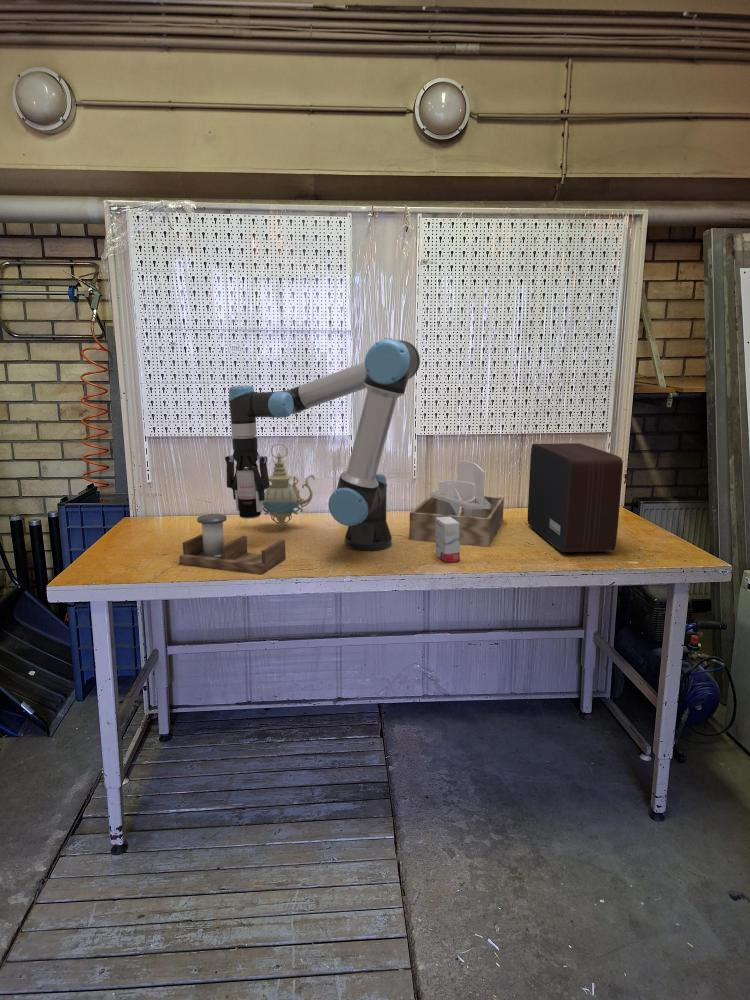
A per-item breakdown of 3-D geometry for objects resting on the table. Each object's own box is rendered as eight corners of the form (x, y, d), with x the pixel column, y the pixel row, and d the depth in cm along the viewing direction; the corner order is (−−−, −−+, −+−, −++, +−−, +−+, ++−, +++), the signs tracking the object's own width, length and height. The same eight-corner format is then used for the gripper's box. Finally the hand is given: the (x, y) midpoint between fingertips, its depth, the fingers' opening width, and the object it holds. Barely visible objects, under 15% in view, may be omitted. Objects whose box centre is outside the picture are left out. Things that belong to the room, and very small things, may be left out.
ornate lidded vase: (244, 533, 212) (240, 446, 205) (250, 524, 223) (246, 441, 217) (314, 533, 213) (312, 445, 206) (317, 524, 224) (315, 441, 217)
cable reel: (234, 553, 188) (232, 515, 185) (218, 561, 180) (216, 522, 177) (210, 550, 190) (207, 513, 188) (193, 558, 183) (191, 519, 180)
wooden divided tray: (285, 559, 184) (285, 539, 183) (262, 574, 172) (261, 553, 170) (207, 550, 193) (206, 532, 192) (179, 564, 180) (178, 544, 179)
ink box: (460, 562, 182) (461, 523, 179) (443, 563, 181) (444, 524, 178) (449, 553, 190) (450, 515, 187) (434, 554, 189) (434, 516, 186)
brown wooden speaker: (621, 556, 187) (629, 457, 180) (563, 557, 186) (570, 458, 179) (575, 525, 222) (581, 441, 216) (526, 526, 221) (530, 442, 215)
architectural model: (415, 526, 222) (416, 461, 217) (463, 519, 233) (464, 457, 227) (463, 546, 199) (465, 474, 193) (513, 537, 209) (517, 468, 204)
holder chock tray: (502, 521, 227) (503, 497, 225) (488, 546, 196) (489, 519, 195) (433, 516, 235) (433, 492, 233) (409, 539, 205) (409, 512, 203)
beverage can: (243, 514, 199) (239, 467, 196) (263, 514, 198) (260, 467, 195) (236, 519, 192) (233, 471, 189) (257, 519, 192) (254, 471, 189)
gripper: (278, 435, 190) (283, 509, 195) (223, 435, 197) (229, 506, 202) (266, 438, 183) (271, 514, 188) (210, 438, 190) (216, 511, 195)
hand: (249, 510), depth 195 cm, fingers closed on beverage can, 6 cm apart
